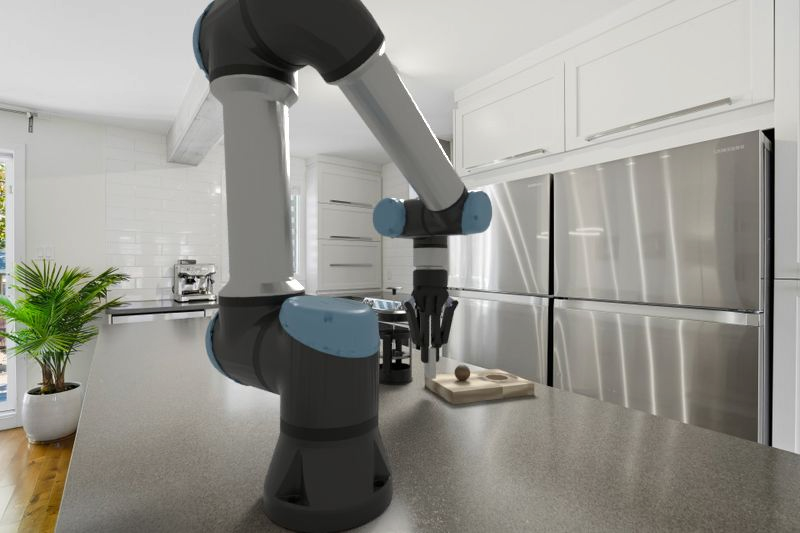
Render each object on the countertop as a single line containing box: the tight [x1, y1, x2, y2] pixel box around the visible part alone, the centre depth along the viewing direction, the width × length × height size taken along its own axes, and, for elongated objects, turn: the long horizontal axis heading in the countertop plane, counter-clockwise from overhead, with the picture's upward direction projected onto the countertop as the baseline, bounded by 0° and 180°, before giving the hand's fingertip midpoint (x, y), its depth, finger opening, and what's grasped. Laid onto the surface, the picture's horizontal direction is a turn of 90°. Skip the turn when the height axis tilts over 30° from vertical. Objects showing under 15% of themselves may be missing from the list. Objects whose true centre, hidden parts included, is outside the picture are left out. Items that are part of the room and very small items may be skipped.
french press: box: [375, 286, 414, 386], centre depth 102 cm, size 12×9×23 cm
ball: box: [453, 364, 471, 381], centre depth 92 cm, size 4×4×4 cm
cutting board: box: [424, 368, 535, 405], centre depth 94 cm, size 14×20×2 cm
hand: (430, 377), depth 89 cm, fingers closed
